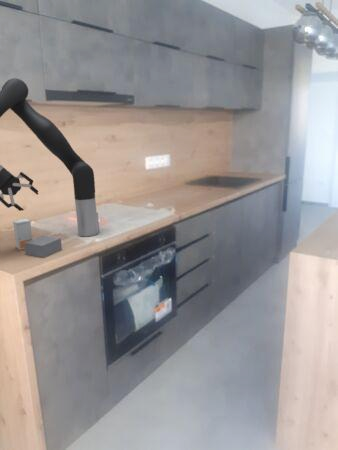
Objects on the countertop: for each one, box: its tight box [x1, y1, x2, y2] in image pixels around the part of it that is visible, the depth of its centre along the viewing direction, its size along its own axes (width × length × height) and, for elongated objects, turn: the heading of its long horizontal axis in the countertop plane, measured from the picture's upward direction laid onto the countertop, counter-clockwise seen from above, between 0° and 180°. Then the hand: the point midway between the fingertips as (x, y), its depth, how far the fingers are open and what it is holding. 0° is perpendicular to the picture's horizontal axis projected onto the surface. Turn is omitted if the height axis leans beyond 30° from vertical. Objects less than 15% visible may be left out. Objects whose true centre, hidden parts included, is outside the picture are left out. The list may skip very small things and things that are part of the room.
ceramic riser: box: [24, 235, 63, 259], centre depth 150 cm, size 10×10×5 cm
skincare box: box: [12, 218, 33, 251], centre depth 156 cm, size 6×4×12 cm
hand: (30, 202), depth 146 cm, fingers open, 8 cm apart
